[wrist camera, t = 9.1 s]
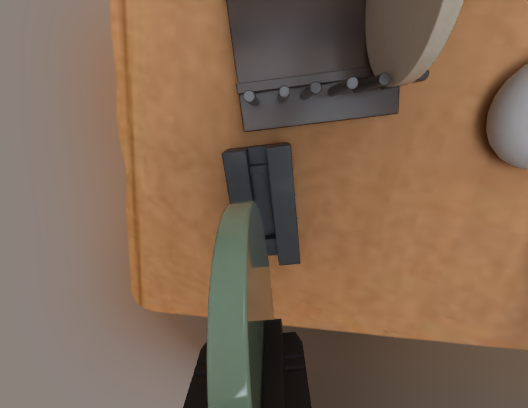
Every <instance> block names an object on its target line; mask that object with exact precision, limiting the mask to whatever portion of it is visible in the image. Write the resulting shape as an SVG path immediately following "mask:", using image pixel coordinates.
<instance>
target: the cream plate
mask: <svg viewBox="0 0 528 408" xmlns="http://www.w3.org/2000/svg"><path fill="white" fill-rule="evenodd" d="M463 2H464V0H366V11H365V32H366V45H367V52H368V58H369V62H370V66H371V69H372V71H373V74H374V76H376V75H379V74H381V73H384V72H387V73H389V74H390V75H391V81H390V83H389V84H387V85H385V86H387V87H393V86H401V85H408V84H410V83H413V82H414V81H416V80H417V79H419V78H420V77H421V76H422V75H423V74H424V73H425V72H426V71H427V70H428V69H429V68H430V67H431V65H432V64H433V63H434V61H435V60H436V58H437V57H438V55H439V54H440V52H441V50H442V49H443V47H444V45H445V43H446V42H447V40H448V38H449V36H450V33H451V31H452V29H453V27H454V25H455V23H456V20H457V18H458V15H459V13H460V10H461V8H462V5H463Z"/></svg>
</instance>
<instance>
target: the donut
mask: <svg viewBox="0 0 528 408" xmlns="http://www.w3.org/2000/svg"><path fill="white" fill-rule="evenodd" d="M486 132H487V136H488V141H489V144H490V146H491V147H492V149H493V150H494V151H495V153H496V154H497V155H498V157H499V158H500V159H502V160H504V161H505V162H507V163H509V164H510V165H512V166H515V167H518V168H524V169H528V63H527V64H525V65H524V66H523V67H522V68H521V69H519V70H518V71H517V72H516V73H515V74H513V75H512V76H511V77H510V78H509V79H507V80H506V82H505V83H504V84H503V86H502V87H501V88H500V90H499V91H498V93H497V94H496V95H495V97H494V99H493V102H492V104H491V106H490V109H489V111H488V115H487V124H486Z"/></svg>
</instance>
